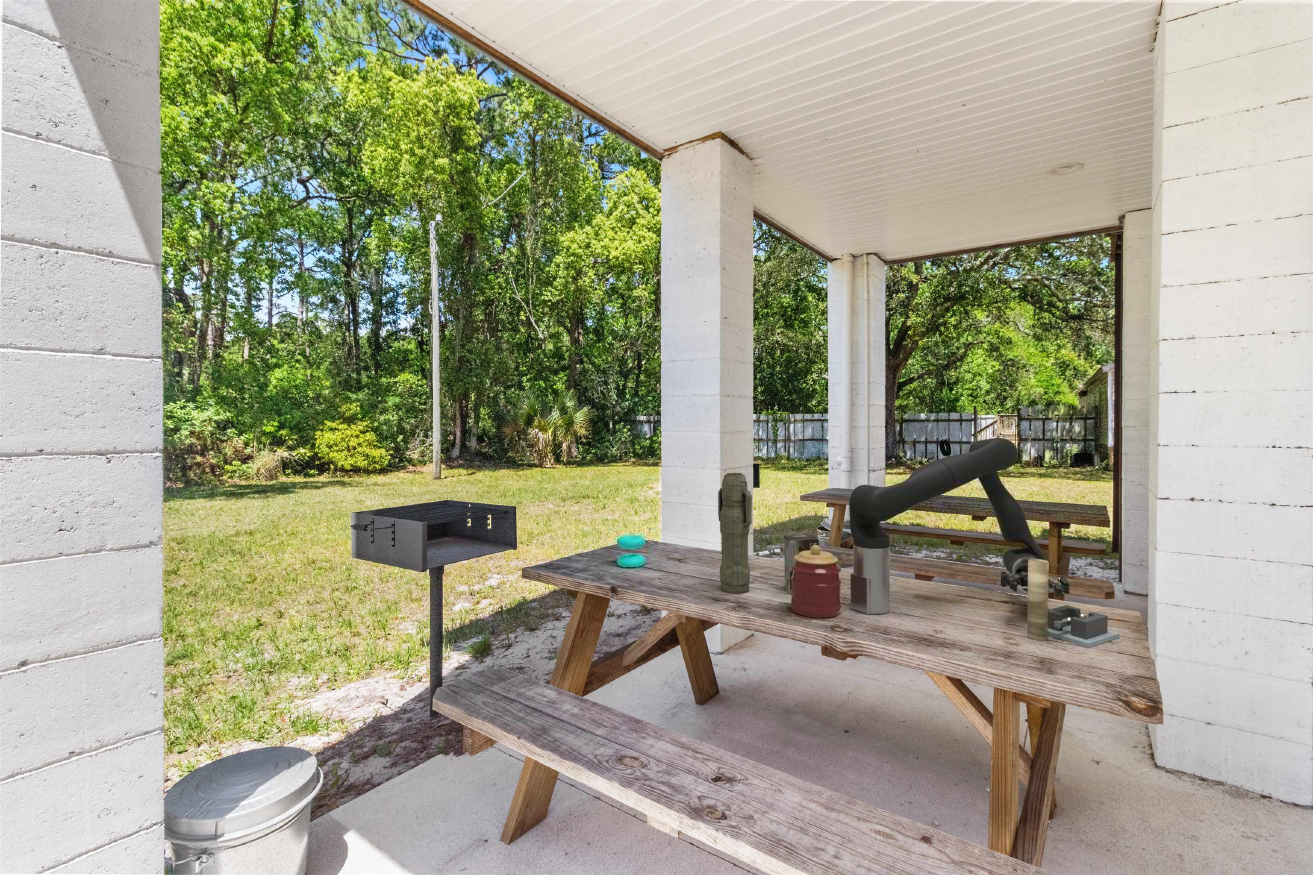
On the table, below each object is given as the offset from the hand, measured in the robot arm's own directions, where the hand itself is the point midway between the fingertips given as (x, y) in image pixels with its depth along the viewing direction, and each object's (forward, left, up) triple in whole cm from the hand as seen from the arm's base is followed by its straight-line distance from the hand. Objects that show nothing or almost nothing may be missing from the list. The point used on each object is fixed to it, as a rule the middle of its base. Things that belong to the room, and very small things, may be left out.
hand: (1036, 589), depth 140 cm
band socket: (+8, -5, -11) cm, 14 cm away
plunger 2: (+13, -5, -8) cm, 16 cm away
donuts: (-57, +105, -11) cm, 120 cm away
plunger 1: (+3, -5, -8) cm, 10 cm away
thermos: (-42, +63, -11) cm, 77 cm away
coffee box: (-25, +53, -11) cm, 60 cm away
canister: (-34, +37, -11) cm, 52 cm away
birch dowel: (-2, -2, -11) cm, 11 cm away
